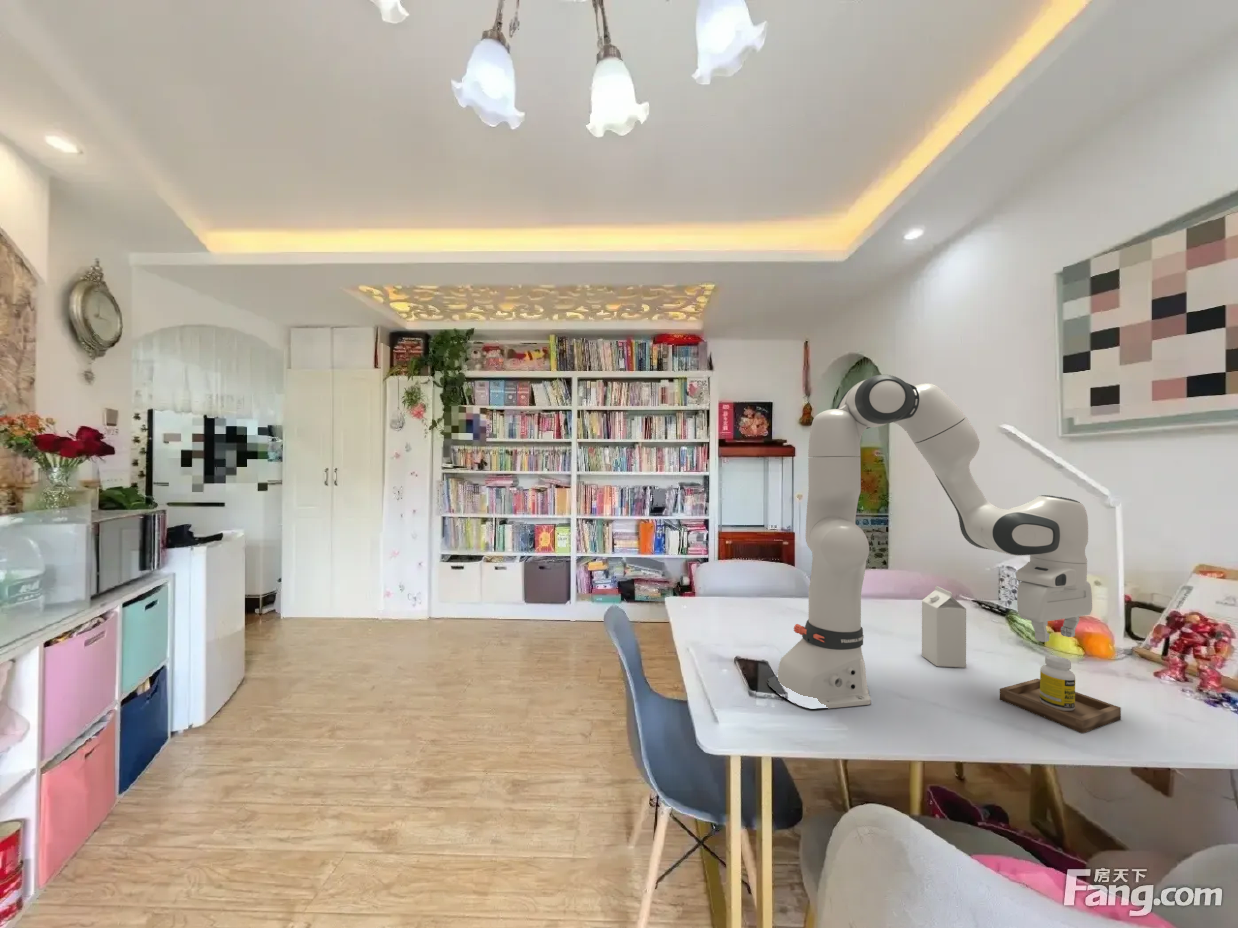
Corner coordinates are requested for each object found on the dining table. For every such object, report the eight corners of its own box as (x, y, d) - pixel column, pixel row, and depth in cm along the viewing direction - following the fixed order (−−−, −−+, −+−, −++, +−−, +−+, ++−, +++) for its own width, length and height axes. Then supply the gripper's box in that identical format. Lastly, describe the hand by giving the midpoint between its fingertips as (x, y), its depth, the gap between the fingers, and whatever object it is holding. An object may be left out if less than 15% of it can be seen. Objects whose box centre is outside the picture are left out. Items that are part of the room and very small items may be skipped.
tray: (1082, 733, 89) (1082, 720, 89) (999, 699, 102) (999, 688, 102) (1120, 719, 95) (1120, 707, 95) (1037, 688, 108) (1037, 678, 108)
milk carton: (949, 657, 126) (949, 586, 126) (966, 668, 119) (966, 593, 119) (921, 655, 126) (921, 585, 127) (936, 666, 119) (936, 592, 119)
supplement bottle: (1068, 714, 95) (1069, 666, 95) (1035, 702, 100) (1035, 656, 100) (1079, 708, 97) (1080, 660, 97) (1046, 696, 102) (1046, 651, 102)
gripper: (1066, 567, 106) (1064, 628, 106) (1011, 571, 98) (1008, 638, 98) (1103, 573, 100) (1101, 638, 100) (1047, 579, 92) (1045, 649, 92)
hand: (1055, 638), depth 99 cm, fingers open, 8 cm apart
